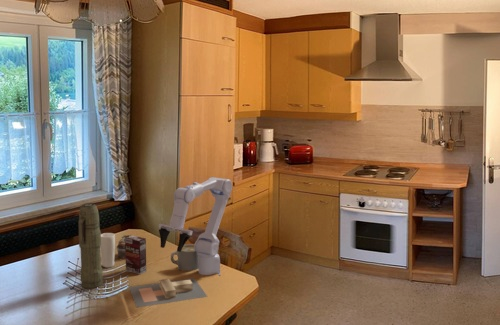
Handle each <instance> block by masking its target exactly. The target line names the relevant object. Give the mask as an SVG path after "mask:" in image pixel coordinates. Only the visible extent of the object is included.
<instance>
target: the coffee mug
mask: <svg viewBox="0 0 500 325" xmlns="http://www.w3.org/2000/svg"><path fill="white" fill-rule="evenodd" d="M194 245H195V243H194V244H193V243H191V244H186V243H185V244H184V246H183V248H182V250H181V252H178V251H177V250H175V251H172V252H171V254H170V261H171V263H172V264H174V265H177V268H178V271H189V272H190V271H196V270H197V269H198V255H197V252H196V251H195V249H194ZM175 255H176V256H177V259H176V260H175V259H174V257H175Z"/></svg>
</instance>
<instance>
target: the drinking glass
mask: <svg viewBox="0 0 500 325" xmlns="http://www.w3.org/2000/svg"><path fill="white" fill-rule="evenodd" d="M115 253H116V235H115V233H113V232H104V233H101V246H100V255H101V261H102V262H101V265H102V267H103V268H112V267H114V266H115Z"/></svg>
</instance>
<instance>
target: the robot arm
mask: <svg viewBox="0 0 500 325" xmlns="http://www.w3.org/2000/svg"><path fill="white" fill-rule="evenodd" d="M232 189H233V183H232V180H231V179H229V178H221V177H215V176H212V177H209V178H208V179H207V180H204V181H203V182H201V183H199V182H196V181H195V182H192V184H190V185H185V187H178V188H177V189H175V191H174V193H173V198H174V199H173V209H172V213H171V217H170V220H169V221H170V222H169V224H163V223H159V224H158V229H159V230H158V232H159V233H158V234H159V237H160V248H163V249H165V247H166V243H167V241H168V237H169V235H170V232H175V233H179V238H178V245H177V249H176V251H178V252H181V250H182V248H183V246H184V245H186V243H187V242H188V241H189V239H190V238H191V236H193V232H194V231H193V230H190V229H185V228H184V226H185V221H186V217H187V214H188V210H189V206H190V204H191V203H192V202H193V200H195V199H196V198H198V197H200V196H202V195H203V193H204V192H206V191H208V190H209V191H210V194H211V195H212V196H213V197H214V199H215V201H214V204H213V207H212V209H211V212H210V216H209V218H208V221H207V225H206V227H205V231H204V232H202V233H200V234H199V235H198V237H197V239H196V241H195V243H194V249H195V251H196V252H197V255H198V274H199V275H202V276H210V275H214V274H217V275H218V276H221V259H220V258H221V257H220V254H218V252H219V245H220V240H219V238H218V237H217V234H218V231H219V227H220V224H221V221H222V220H223V219H222V218H223V215H224V213H225V209H226V207H227V204H228V200H229V199H230V196H231V193H232Z"/></svg>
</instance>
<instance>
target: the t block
mask: <svg viewBox="0 0 500 325" xmlns="http://www.w3.org/2000/svg"><path fill="white" fill-rule="evenodd" d="M183 280H184V279H183ZM171 281H172V280H171V279H170V278H165V279H159V283H160V288H161V290H162V292H163V294H164V296H165V298H172V297H176V293H177V292H184V291H190V290H193V283H192V282H191V280H184V281H177V280H176V281H177V282H171Z"/></svg>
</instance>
